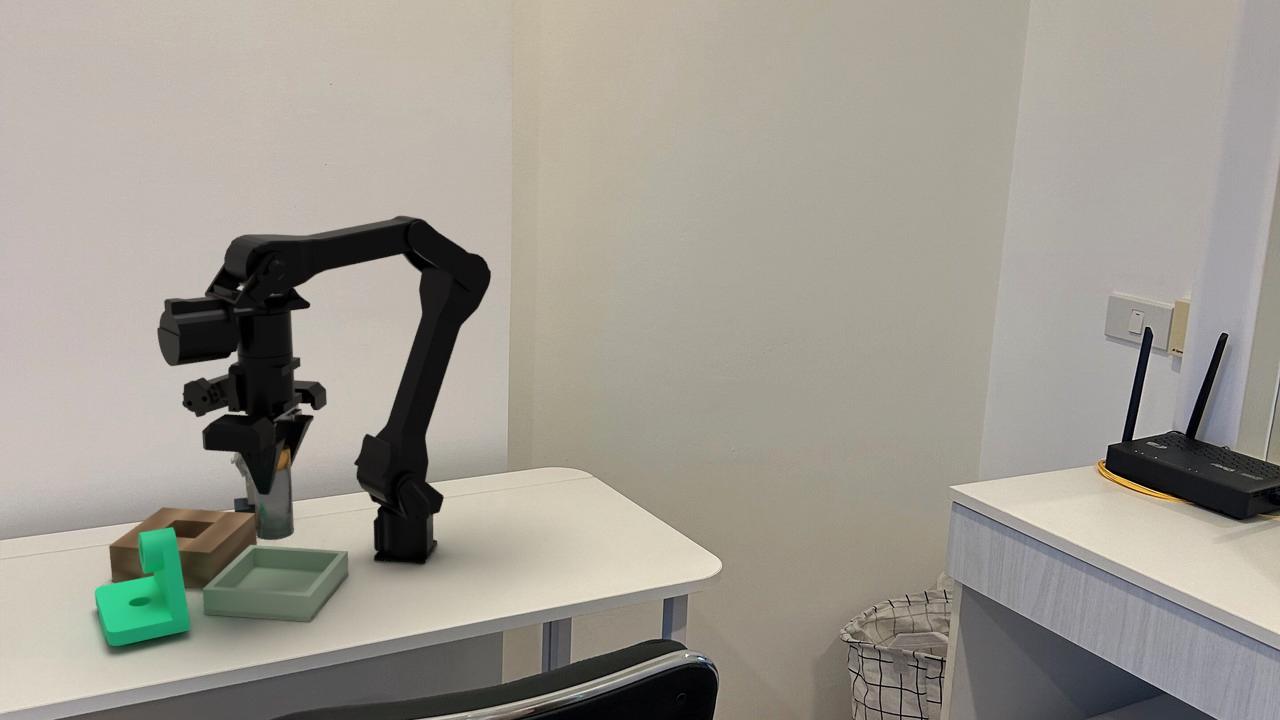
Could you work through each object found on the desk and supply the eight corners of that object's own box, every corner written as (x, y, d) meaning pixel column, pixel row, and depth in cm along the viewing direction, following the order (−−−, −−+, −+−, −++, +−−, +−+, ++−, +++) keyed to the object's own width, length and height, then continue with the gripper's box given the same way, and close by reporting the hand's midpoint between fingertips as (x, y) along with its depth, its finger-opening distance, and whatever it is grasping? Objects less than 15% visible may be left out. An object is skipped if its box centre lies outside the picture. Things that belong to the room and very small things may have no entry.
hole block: (256, 546, 134) (254, 513, 133) (212, 588, 122) (209, 552, 121) (165, 540, 135) (162, 507, 134) (112, 581, 123) (109, 545, 122)
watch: (277, 510, 145) (273, 434, 143) (281, 532, 138) (278, 453, 136) (233, 515, 143) (229, 438, 141) (236, 538, 136) (231, 457, 134)
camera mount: (95, 609, 117) (87, 522, 114) (169, 594, 121) (163, 510, 119) (110, 657, 107) (101, 563, 105) (190, 639, 111) (184, 548, 109)
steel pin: (266, 524, 122) (261, 442, 120) (299, 527, 122) (295, 444, 119) (250, 538, 118) (245, 453, 116) (285, 541, 118) (280, 456, 116)
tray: (348, 574, 127) (347, 551, 126) (310, 621, 115) (309, 596, 115) (251, 567, 128) (250, 544, 127) (204, 614, 116) (202, 589, 116)
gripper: (234, 330, 125) (242, 455, 128) (147, 369, 107) (159, 513, 110) (325, 335, 124) (330, 461, 127) (254, 375, 106) (262, 521, 109)
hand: (272, 487), depth 119 cm, fingers closed on steel pin, 4 cm apart
